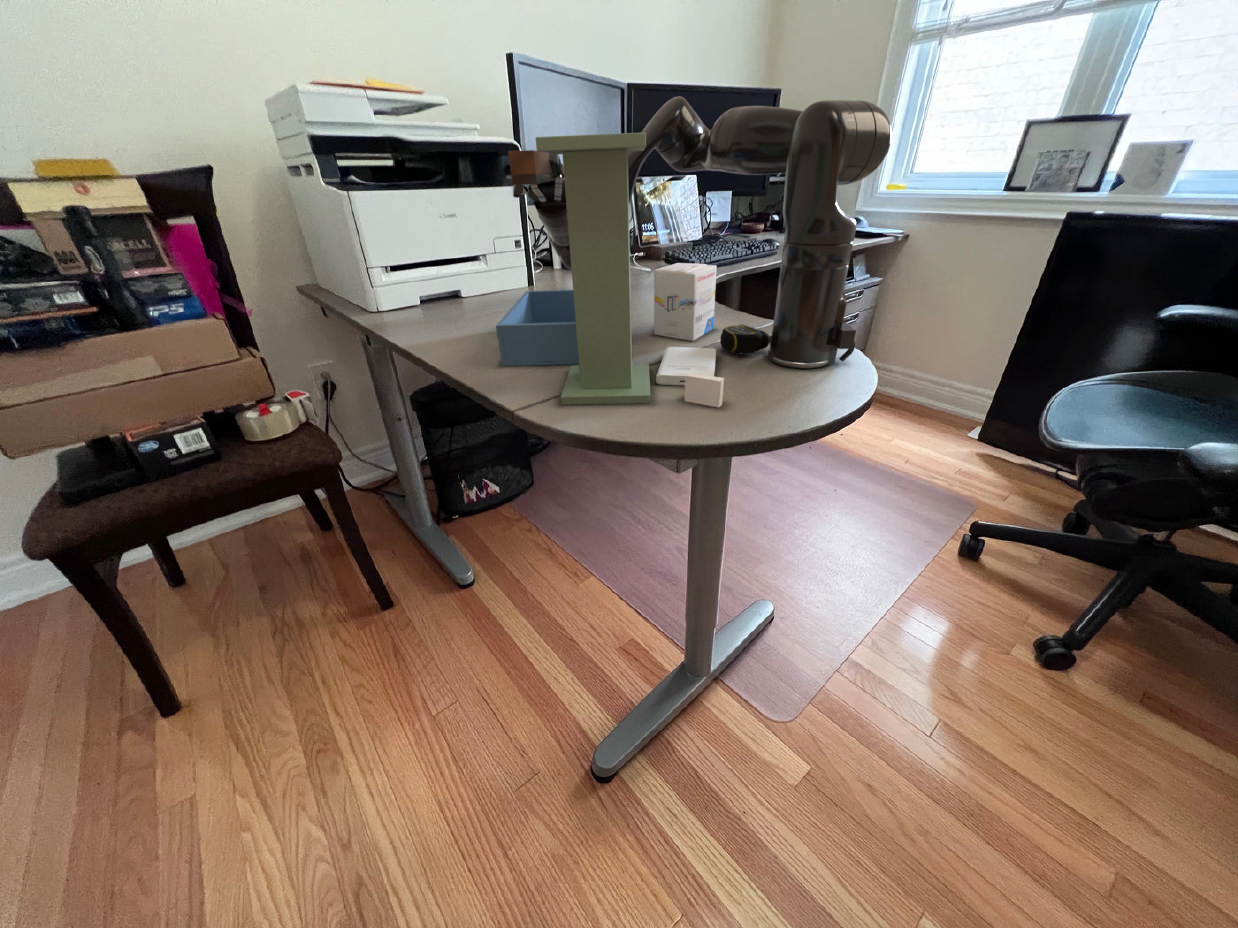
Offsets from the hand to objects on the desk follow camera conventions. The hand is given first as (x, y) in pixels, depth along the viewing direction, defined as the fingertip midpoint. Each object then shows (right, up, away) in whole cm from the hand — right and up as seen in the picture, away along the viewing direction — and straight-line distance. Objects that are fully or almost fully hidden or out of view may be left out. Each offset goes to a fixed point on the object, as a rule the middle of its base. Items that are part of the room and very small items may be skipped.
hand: (538, 156), depth 78 cm
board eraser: (0, -5, -1) cm, 5 cm away
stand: (+11, -38, -7) cm, 40 cm away
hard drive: (+23, -35, -2) cm, 42 cm away
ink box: (+25, -24, +15) cm, 38 cm away
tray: (+1, -27, +12) cm, 29 cm away
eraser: (+24, -41, -13) cm, 49 cm away
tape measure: (+34, -30, +5) cm, 45 cm away
